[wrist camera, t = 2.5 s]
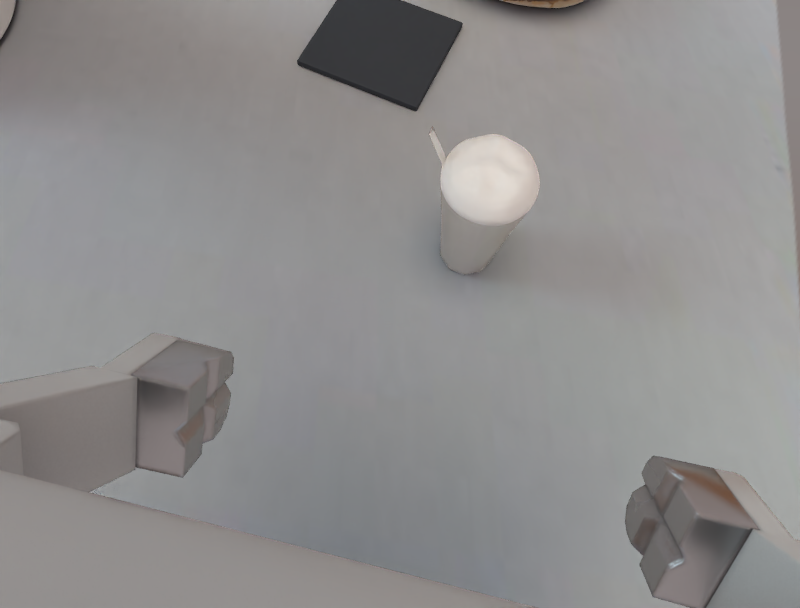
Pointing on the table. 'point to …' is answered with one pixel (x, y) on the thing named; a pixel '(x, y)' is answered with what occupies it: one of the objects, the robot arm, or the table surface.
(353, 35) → the mat
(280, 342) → the table surface
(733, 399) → the table surface
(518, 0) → the trinket box
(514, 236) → the table surface
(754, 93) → the table surface
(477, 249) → the milkshake
